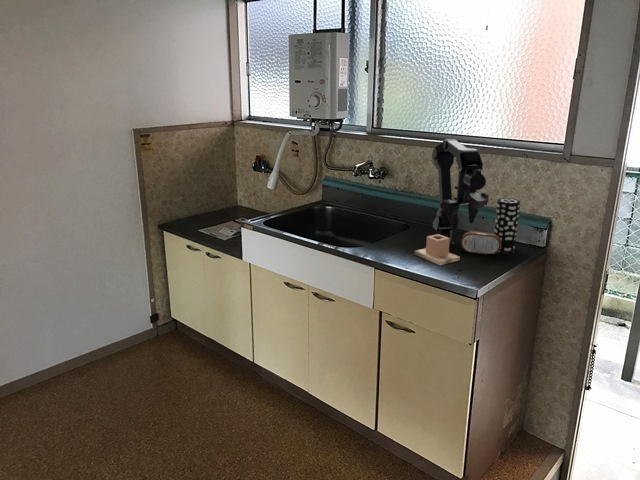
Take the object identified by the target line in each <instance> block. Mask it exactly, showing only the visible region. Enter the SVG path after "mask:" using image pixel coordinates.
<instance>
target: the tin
mask: <svg viewBox="0 0 640 480" xmlns="http://www.w3.org/2000/svg"><path fill="white" fill-rule="evenodd" d="M460 244H461V247H462V249H463V250H464V251H466V252H468V253H470V254H479V255H487V254H493V255H495V254H497V253H499V252H498V251H499V250H500V248H501V239H500V238H499V236H497V235H496V234H494V232H485V231H477V230H476V231H475V230H469V231H466V232H465V233H463V235H462V237H461V240H460Z"/></svg>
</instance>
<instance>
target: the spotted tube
mask: <svg viewBox="0 0 640 480" xmlns="http://www.w3.org/2000/svg"><path fill="white" fill-rule="evenodd" d="M520 208H521V200H518V199H515V198H507V197H505V198H504V197H503V198H499V199H497V204H496V211H495V221H494V222H495V223H494V230H493V231H494V232H493V234H496V235H497V236H499V238H500V239H501V248H500V250H499V252H512V251H514V250H516V242H517V233H518V227H519V225H518V224H519V217H520ZM499 252H498V253H499ZM514 252H515V251H514Z"/></svg>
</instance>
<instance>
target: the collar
mask: <svg viewBox="0 0 640 480" xmlns="http://www.w3.org/2000/svg"><path fill="white" fill-rule="evenodd" d="M436 236H440V237H441V239H435V237H436ZM425 242H426V244H425V248H426V253H427V254H430V255H432V256H434V257H440V256H445V255H449V253H450V245H449V242H450V238H448V237H445V236H442V235H440V234H437V235H435V234H433V235H428V236H426V241H425Z"/></svg>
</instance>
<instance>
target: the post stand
mask: <svg viewBox="0 0 640 480" xmlns="http://www.w3.org/2000/svg"><path fill="white" fill-rule="evenodd" d="M435 239H441V237H440V236H436V237H435ZM414 255H415V256H417V257H420V258H422V259H424V260H427V261H429V262H431V263H434V264H435V265H438V266H443V265H447V264H451V263H456V262H458V261H460V260H461V256H459V255H457V254H454V253H451V252H449V255H445V256H440V257H434V256H432V255H430V254H427V253H426V247H424V248H422V249H421V248H420V249H417V250H414Z"/></svg>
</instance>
